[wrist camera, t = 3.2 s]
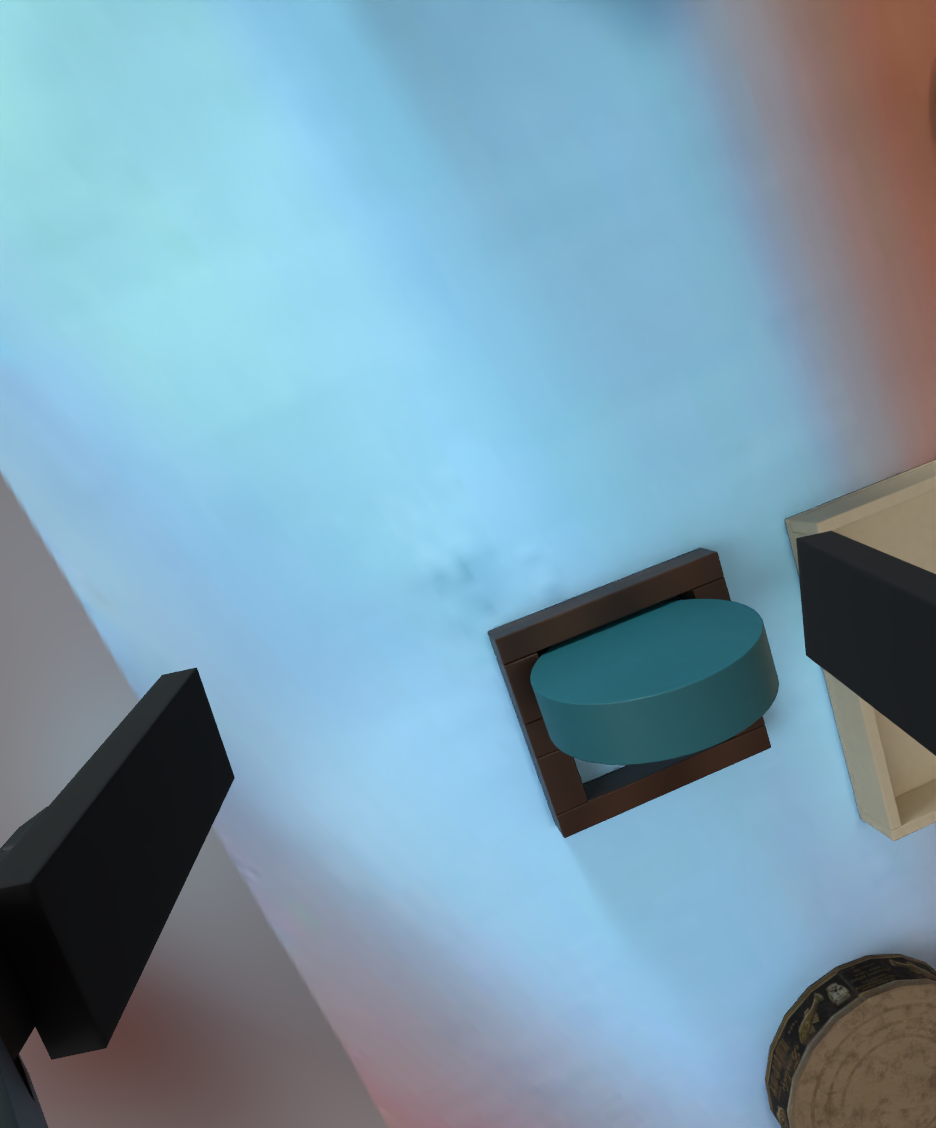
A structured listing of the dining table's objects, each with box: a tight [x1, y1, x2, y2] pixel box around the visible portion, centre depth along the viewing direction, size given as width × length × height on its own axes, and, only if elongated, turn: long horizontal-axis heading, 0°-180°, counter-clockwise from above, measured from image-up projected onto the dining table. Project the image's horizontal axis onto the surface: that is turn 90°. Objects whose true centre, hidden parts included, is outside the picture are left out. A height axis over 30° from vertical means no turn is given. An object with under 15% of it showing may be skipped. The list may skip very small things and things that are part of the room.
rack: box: [488, 548, 771, 838], centre depth 43 cm, size 14×13×2 cm
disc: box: [530, 599, 779, 765], centre depth 37 cm, size 12×3×12 cm, turn 109°
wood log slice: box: [765, 954, 936, 1128], centre depth 50 cm, size 16×16×3 cm
